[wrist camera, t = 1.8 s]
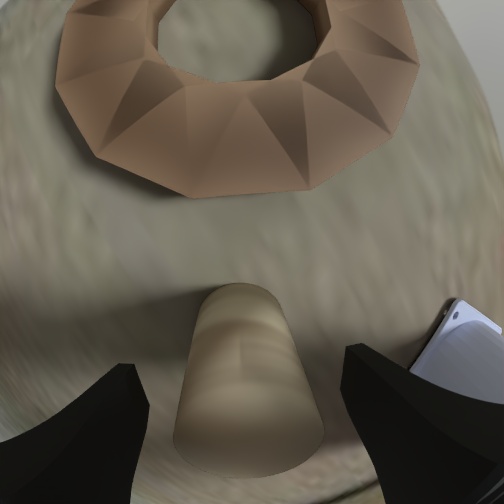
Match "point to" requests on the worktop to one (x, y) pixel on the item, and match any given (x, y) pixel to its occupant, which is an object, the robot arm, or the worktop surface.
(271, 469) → the beech peg
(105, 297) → the worktop surface
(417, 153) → the worktop surface
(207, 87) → the walnut ring
